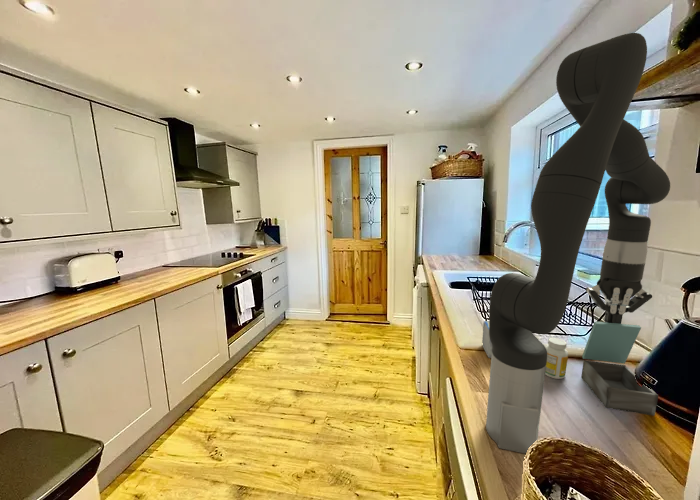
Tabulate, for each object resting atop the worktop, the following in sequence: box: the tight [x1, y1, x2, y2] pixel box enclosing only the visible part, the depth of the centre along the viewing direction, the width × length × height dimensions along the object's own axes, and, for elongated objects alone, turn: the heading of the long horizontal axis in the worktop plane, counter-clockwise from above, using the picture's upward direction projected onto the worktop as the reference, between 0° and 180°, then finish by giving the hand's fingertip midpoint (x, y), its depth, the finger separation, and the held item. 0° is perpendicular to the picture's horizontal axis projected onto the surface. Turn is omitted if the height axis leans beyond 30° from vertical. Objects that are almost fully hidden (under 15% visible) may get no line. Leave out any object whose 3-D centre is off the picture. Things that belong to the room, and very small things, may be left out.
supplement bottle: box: [544, 337, 569, 380], centre depth 80 cm, size 5×5×10 cm
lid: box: [581, 321, 642, 365], centre depth 74 cm, size 12×9×1 cm
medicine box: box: [481, 320, 492, 359], centre depth 91 cm, size 8×4×9 cm, turn 168°
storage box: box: [580, 359, 659, 417], centre depth 71 cm, size 12×9×5 cm
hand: (611, 326), depth 74 cm, fingers closed
